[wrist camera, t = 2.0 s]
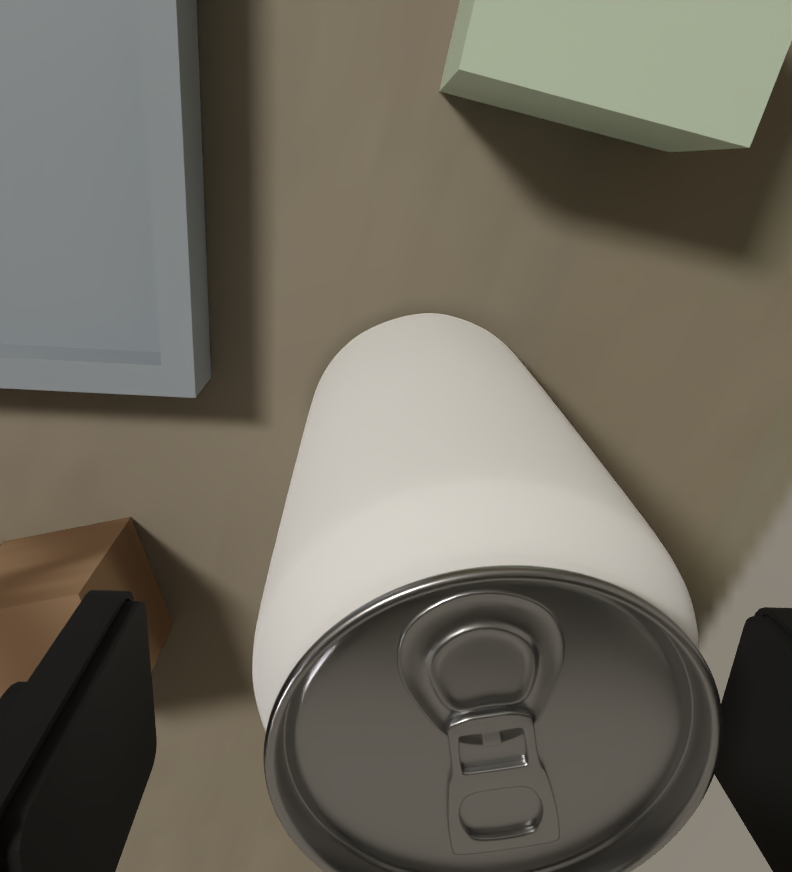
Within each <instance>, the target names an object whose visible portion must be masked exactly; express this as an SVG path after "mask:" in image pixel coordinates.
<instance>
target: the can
mask: <svg viewBox="0 0 792 872" xmlns="http://www.w3.org/2000/svg"><path fill="white" fill-rule="evenodd" d="M252 676H253V687H254V693H255V698H256V703H257V707H258V711H259V715H260V718H261V721H262V724H263V727H264V729H265V732H266V734H265V742H264V773H265V780H266V785H267V789H268V793H269V796H270V799H271V802H272V805H273V807H274V810H275V812H276V814H277V816H278V818H279V820H280V822H281V824H282V825H283V827H284V829H285V830H286V832H287V833H288V835H289V836H290V838H291V839H292V840H293V842H294V843H295V844H296V845H297V846H298V848H299V849H300V850H301V851H302V852H303V853H304V854H305V855H306V856H307V857H308V858H309V859H310V860H311V861H312V862H314V863H315V864H316V865H317V866H318V867H319V868H321V869H322V870H323V871H324V872H631V871H632V870H634V869H635V868H637V867H638V866H640V865H641V864H643V863H644V862H645V861H647V860H648V859H649V858H651V857H652V856H653V855H655V854H656V853H657V852H658V851H659V850H660V849H662V848H663V847H664V846H665V845H666V844H667V843H668V842H669V841H670V840H671V839H672V838H673V837H674V836H675V835H676V834H677V833H678V832H679V831H680V830H681V828H682V827H683V826H684V825H685V824H686V822H687V821H688V820H689V819H690V817H691V816H692V815H693V813H694V812H695V810H696V809H697V807H698V806H699V804H700V802H701V801H702V799H703V797H704V795H705V794H706V791H707V789H708V787H709V785H710V783H711V781H712V778H713V775H714V773H715V770H716V767H717V763H718V760H719V755H720V751H721V744H722V733H723V721H722V709H721V703H720V698H719V694H718V690H717V687H716V684H715V681H714V678H713V676H712V674H711V671H710V669H709V667H708V665H707V663H706V661H705V660H704V658H703V656H702V655H701V653H700V652H699V641H698V631H697V624H696V618H695V613H694V609H693V605H692V601H691V598H690V595H689V592H688V590H687V587H686V585H685V583H684V581H683V579H682V577H681V575H680V573H679V571H678V569H677V567H676V565H675V564H674V562H673V560H672V558H671V556H670V555H669V553H668V552H667V550H666V549H665V547H664V546H663V544H662V543H661V542H660V540H659V539H658V537H657V536H656V534H655V533H654V532H653V530H652V529H651V527H650V526H649V525H648V523H647V522H646V521H645V519H644V518H643V517H642V515H641V514H640V513H639V511H638V510H637V509H636V507H635V506H634V505H633V504H632V502H631V501H630V500H629V498H628V497H627V496H626V494H625V493H624V492H623V490H622V489H621V488H620V486H619V485H618V484H617V483H616V481H615V480H614V479H613V477H612V476H611V475H610V474H609V472H608V471H607V470H606V468H605V467H604V466H603V465H602V463H601V462H600V461H599V459H598V458H597V457H596V456H595V454H594V453H593V452H592V450H591V449H590V448H589V447H588V445H587V444H586V443H585V441H584V440H583V439H582V438H581V436H580V435H579V434H578V433H577V431H576V430H575V429H574V427H573V426H572V425H571V424H570V422H569V421H568V420H567V419H566V417H565V416H564V415H563V413H562V412H561V411H560V410H559V408H558V407H557V406H556V405H555V403H554V402H553V401H552V400H551V398H550V397H549V396H548V394H547V393H546V392H545V391H544V389H543V388H542V387H541V386H540V384H539V383H538V382H537V381H536V379H535V378H534V377H533V376H532V374H531V373H530V372H529V371H528V370H527V368H526V367H525V366H524V365H523V363H522V362H521V361H520V360H519V359H518V357H517V356H516V355H515V354H514V353H513V352H512V351H511V350H510V349H509V348H508V347H507V346H506V345H505V344H504V343H503V342H502V341H501V340H499V339H498V338H497V337H495V336H494V335H493V334H491V333H490V332H488V331H487V330H485V329H483V328H481V327H479V326H477V325H475V324H473V323H471V322H468V321H465V320H463V319H460V318H456V317H453V316H449V315H444V314H436V313H424V314H415V315H409V316H404V317H400V318H396V319H393V320H390V321H387V322H384V323H382V324H379V325H377V326H375V327H373V328H370V329H368V330H367V331H365V332H363V333H361V334H360V335H358V336H357V337H355V338H354V339H353V340H351V341H350V342H349V343H348V344H347V345H346V346H344V347H343V348H342V349H341V350H340V352H339V353H338V354H337V355H336V356H335V357H334V358H333V360H332V361H331V362H330V364H329V365H328V367H327V368H326V370H325V372H324V374H323V375H322V377H321V379H320V381H319V384H318V386H317V388H316V391H315V394H314V397H313V400H312V404H311V407H310V411H309V414H308V418H307V422H306V425H305V429H304V433H303V437H302V441H301V444H300V448H299V452H298V456H297V460H296V464H295V468H294V472H293V475H292V479H291V483H290V487H289V491H288V495H287V499H286V503H285V507H284V511H283V515H282V519H281V523H280V527H279V531H278V535H277V539H276V543H275V547H274V551H273V555H272V559H271V563H270V568H269V572H268V576H267V580H266V584H265V589H264V593H263V597H262V601H261V606H260V611H259V616H258V621H257V626H256V631H255V638H254V648H253V663H252Z"/></svg>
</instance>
